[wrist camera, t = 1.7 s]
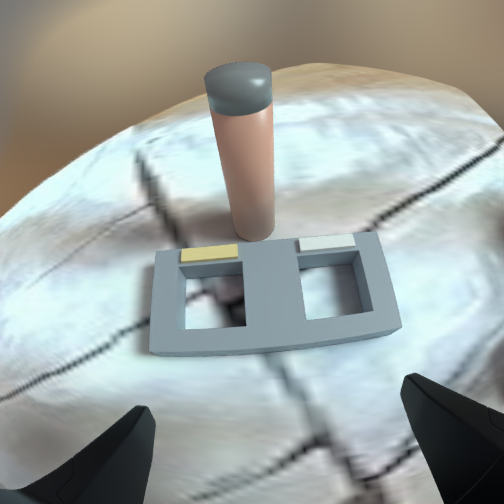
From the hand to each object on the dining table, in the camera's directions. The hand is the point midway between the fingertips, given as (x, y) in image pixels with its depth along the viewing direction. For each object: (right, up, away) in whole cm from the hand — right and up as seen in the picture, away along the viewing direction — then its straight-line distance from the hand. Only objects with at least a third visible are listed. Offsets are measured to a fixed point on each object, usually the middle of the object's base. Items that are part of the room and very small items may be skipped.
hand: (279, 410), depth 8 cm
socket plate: (+1, +1, +16) cm, 16 cm away
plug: (-1, +8, +20) cm, 21 cm away
